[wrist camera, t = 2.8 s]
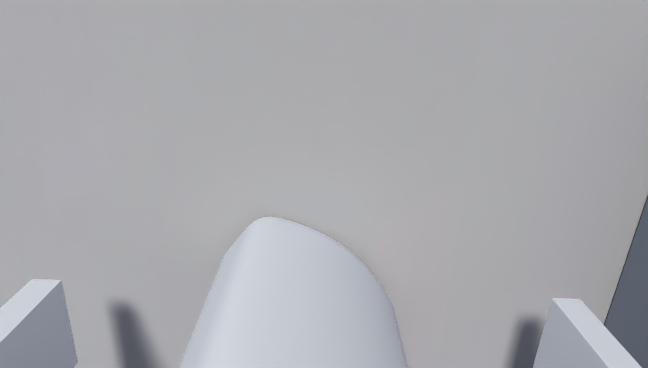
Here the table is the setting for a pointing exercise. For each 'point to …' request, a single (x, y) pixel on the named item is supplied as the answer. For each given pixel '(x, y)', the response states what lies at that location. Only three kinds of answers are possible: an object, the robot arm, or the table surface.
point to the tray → (633, 298)
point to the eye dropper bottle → (294, 306)
